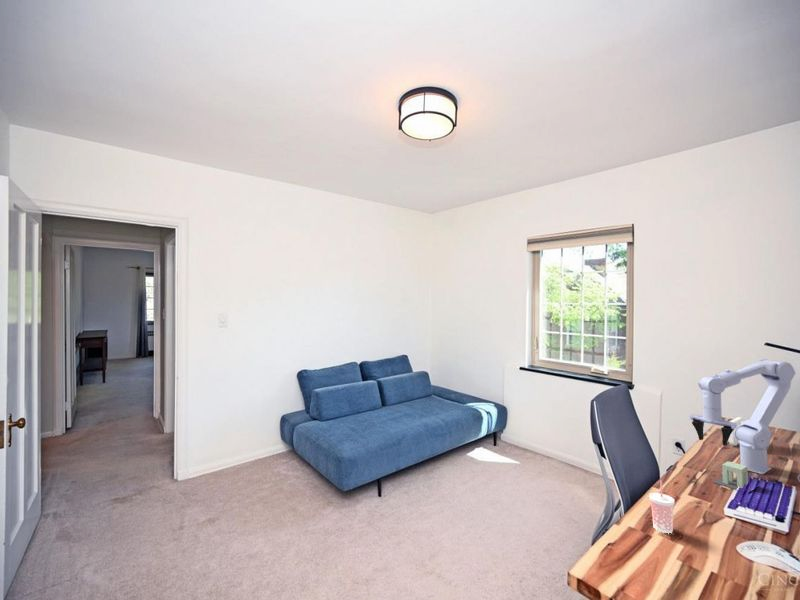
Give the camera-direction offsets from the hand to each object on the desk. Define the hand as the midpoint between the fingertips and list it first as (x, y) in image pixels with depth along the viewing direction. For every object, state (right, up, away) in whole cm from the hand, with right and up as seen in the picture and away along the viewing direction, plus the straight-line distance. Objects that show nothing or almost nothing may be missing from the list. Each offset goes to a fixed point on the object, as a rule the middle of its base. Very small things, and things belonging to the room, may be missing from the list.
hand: (712, 442), depth 150 cm
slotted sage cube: (-3, -10, -14) cm, 17 cm away
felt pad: (-3, -10, -14) cm, 17 cm away
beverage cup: (-48, -10, -40) cm, 63 cm away
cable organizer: (+36, -11, +23) cm, 44 cm away
